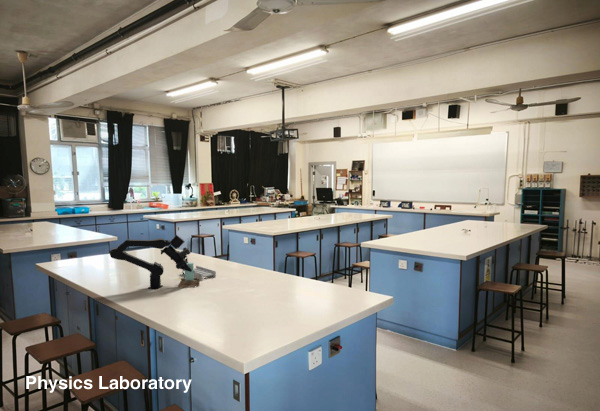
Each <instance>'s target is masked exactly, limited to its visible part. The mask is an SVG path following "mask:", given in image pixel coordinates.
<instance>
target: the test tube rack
mask: <svg viewBox="0 0 600 411" xmlns="http://www.w3.org/2000/svg"><path fill="white" fill-rule="evenodd" d="M183 271H185V270H183V269H182V272H183ZM194 271H195V273H194V278H195V277H197V276H199V281H201V280H202V281H203V278H204V277H212V276H213V278H216V277H217V271H216V270H213V269H209V268H206V267H203V266H199V265H195V268H194Z"/></svg>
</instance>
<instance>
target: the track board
mask: <svg viewBox="0 0 600 411" xmlns="http://www.w3.org/2000/svg"><path fill="white" fill-rule="evenodd" d="M200 281H201V280H199V276H197V277H195V278H194V280H189V281H185V277H182V278H181V279H180V281H179V284H178V288H179V289H181V287H182V288H192V287H193V286H196V287H200ZM193 288H194V287H193Z"/></svg>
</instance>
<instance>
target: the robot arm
mask: <svg viewBox="0 0 600 411" xmlns="http://www.w3.org/2000/svg"><path fill="white" fill-rule="evenodd" d="M184 243H185V240H184V239H183V238H182V237H180V236H179V235H178V234H175V235H174V237H173V238H172V239H171V240H170V239H169V240H167V239H165V238H162V237H161V238H154V239H130V238H127V239H125V240H124V241H123V242H122V243H120V244H119V245H118V246H116V247H113V248H112V249H111V250H110V252H109V255H110V258H111V259H114V260H119V261H124V262H127V263H130V264H133V265H134V266H138V267H140V268H142V269H144V270H147V271H148V272H149V286H148V287H147V289H149V290H150V289H151V290H158V289H160V288H162V287H164V285H162V284H161V283H162V280H161V276H162V275H163V274H164V269H165V268H164V266H163V265H162V263H159V262H157V261H154V263H152V262H149V261H146V260H143V259H142V258H140V257H136V256H134V255H131V254H129V253H127V251H125V250H126V249H128V248H129V247H145V248H147V247H148V248H149V247H150V248H154V249H159V250H160V255H163V254H165V255H166V256H167V257H169V258H170V260H171V261H173V262H174V263H175V269H177V270H182V271H183V270H186V271H190V272H191V271H192V270H191V269H190V267H189V266H188V265H187V263H189V261H188V256H187V255H190V254H191V250H190V249H189V248H188V247H183V248H182V250H181V251H180V250H176V249H179V248H181V246H182V245H183V244H184Z"/></svg>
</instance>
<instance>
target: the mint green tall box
mask: <svg viewBox="0 0 600 411" xmlns="http://www.w3.org/2000/svg"><path fill="white" fill-rule="evenodd" d="M187 265H188V266H189V267H190V269H191V270H192V271H191V272H190V271H186V270H185V275H184V278H185V281H189V280H194V273H195V271H194V269H195V268H194V266H195V265H194V262H188V263H187Z"/></svg>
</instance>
